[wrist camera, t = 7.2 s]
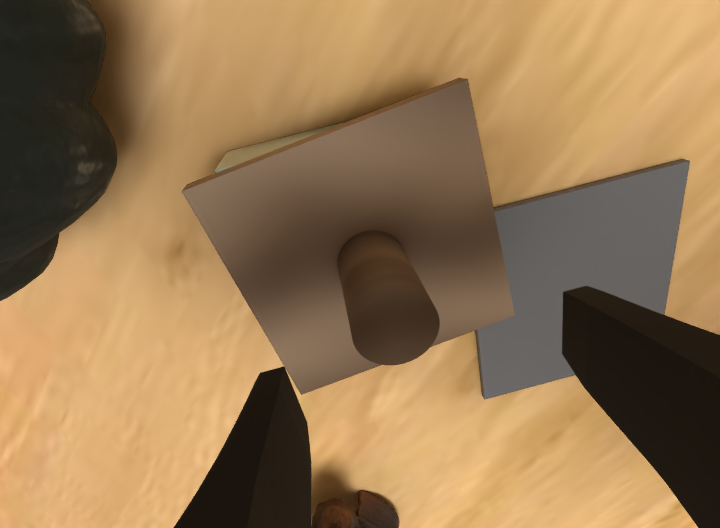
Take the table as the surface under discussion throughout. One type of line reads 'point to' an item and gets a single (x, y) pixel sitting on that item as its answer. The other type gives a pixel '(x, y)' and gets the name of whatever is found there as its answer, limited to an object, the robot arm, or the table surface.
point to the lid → (364, 237)
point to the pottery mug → (355, 514)
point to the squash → (48, 130)
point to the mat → (578, 265)
